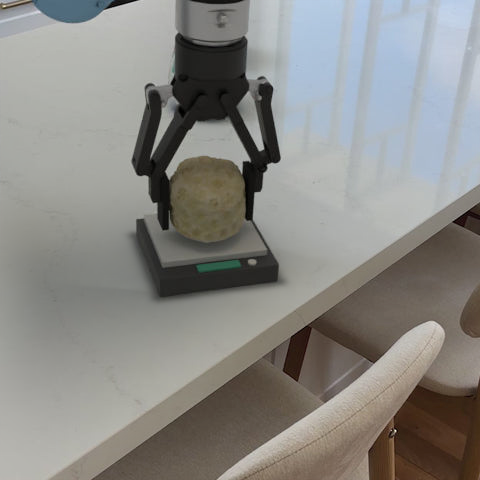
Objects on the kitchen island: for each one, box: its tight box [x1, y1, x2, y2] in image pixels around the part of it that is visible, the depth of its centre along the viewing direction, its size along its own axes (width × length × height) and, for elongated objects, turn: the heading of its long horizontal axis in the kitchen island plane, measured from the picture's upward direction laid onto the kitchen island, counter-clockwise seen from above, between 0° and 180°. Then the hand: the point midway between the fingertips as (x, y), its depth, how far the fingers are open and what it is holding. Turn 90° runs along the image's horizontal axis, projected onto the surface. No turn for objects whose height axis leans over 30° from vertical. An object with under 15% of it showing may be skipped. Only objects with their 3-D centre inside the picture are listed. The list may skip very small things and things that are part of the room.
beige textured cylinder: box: [169, 155, 246, 243], centre depth 103 cm, size 9×10×10 cm
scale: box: [135, 213, 280, 298], centre depth 105 cm, size 14×13×3 cm
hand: (205, 219), depth 104 cm, fingers closed on beige textured cylinder, 9 cm apart
